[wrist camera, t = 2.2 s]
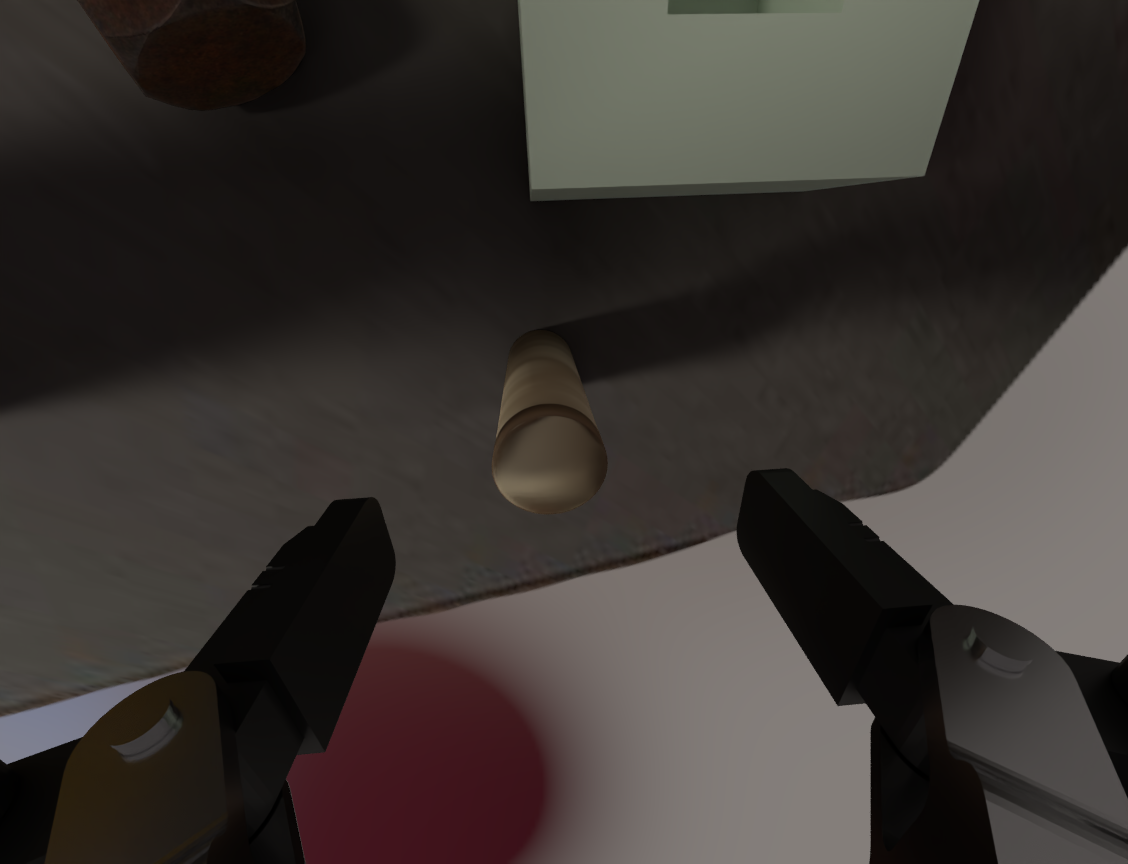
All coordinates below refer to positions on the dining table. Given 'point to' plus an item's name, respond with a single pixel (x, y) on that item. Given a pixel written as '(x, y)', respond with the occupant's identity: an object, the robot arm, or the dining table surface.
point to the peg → (546, 430)
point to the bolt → (202, 47)
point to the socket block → (733, 93)
